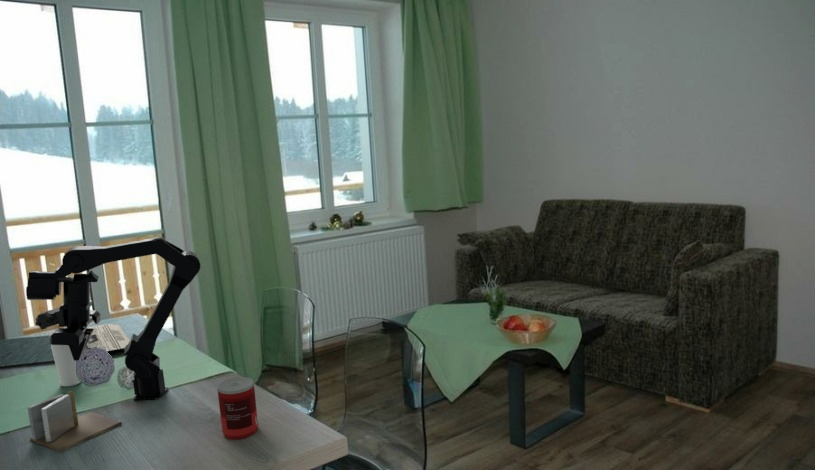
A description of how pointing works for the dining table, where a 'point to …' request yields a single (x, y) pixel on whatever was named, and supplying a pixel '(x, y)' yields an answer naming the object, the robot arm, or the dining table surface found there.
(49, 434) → the swinging leaf
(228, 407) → the canned food
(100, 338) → the newspaper
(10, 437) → the dining table surface
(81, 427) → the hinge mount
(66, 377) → the white tapered cylinder
